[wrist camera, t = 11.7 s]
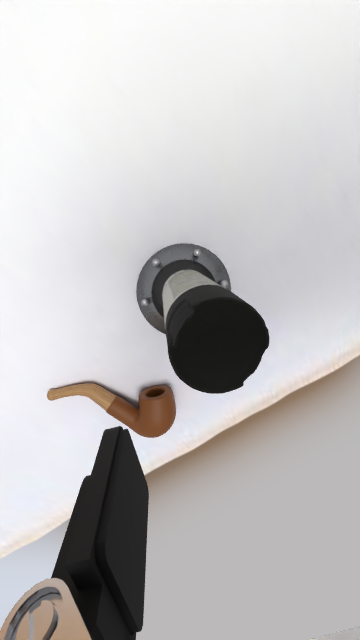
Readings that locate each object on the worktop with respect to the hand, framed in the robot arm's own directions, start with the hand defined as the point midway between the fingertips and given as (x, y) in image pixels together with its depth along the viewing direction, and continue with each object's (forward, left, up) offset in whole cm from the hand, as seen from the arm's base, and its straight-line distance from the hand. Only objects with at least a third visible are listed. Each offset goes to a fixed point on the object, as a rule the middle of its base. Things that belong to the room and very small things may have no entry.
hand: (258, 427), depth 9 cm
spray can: (0, 0, -27) cm, 27 cm away
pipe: (+14, +15, -29) cm, 35 cm away
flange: (0, 0, -28) cm, 28 cm away
